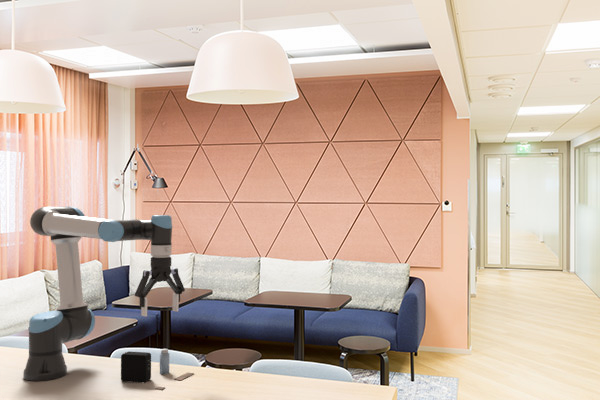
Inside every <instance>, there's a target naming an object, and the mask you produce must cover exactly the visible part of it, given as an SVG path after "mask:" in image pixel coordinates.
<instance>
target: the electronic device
mask: <svg viewBox="0 0 600 400" xmlns="http://www.w3.org/2000/svg"><path fill="white" fill-rule="evenodd" d="M151 378H152V354H151V353H150V352H144V351H143V352H142V351H126V352H124V353H122V354H121V356H120V380H121V382H124V383H125V382H126V383H127V382H128V383H138V384H139V383H140V384H141V383H142V384H145V383H146V382H148V381H149V380H151Z"/></svg>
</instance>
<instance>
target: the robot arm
mask: <svg viewBox="0 0 600 400" xmlns="http://www.w3.org/2000/svg"><path fill="white" fill-rule="evenodd" d="M29 223H30V227H31V229H32V231H33V232H34V233H35V234H37V235H40V236H44V237H50V241H51V243H53V244H54V245H55V246H54V247H55V255H56V257H55V258H56V267H57V278H58V279H57V282H58V292H59V302H60V304H59V305H58V306H57V308H56V310H50V311H49V310H48V311H43V312H40V313H37V314H34V315H32V317H30V319H29V325H28V358H27V362H26V365H25V368H24V369H23V374H22V375H23V380H26V381H29V382H31V381H32V382H41V381H42V382H43V381H44V382H45V381H50V380H56V379H59V378H62V377H64V376H66V375H67V374H68V366H67V365H66V360H65V358H64V354H63V344H66V343H69V342H73V341H76V340H77V341H78V340H81V339H83V338H86V337H87V336H90V335H91V333H92V332H93V331H94V328H95V325H96V317H95V313H93V311H92V309H89V307H88V306H89V305H88V303H86V302H85V301H84V296H83V286H82V285H83V284H82V273H81V261H80V260H81V259H80V252H79V251H80V249H79V242H80V241H81V239H82V238H90V239H95V240H96V239H97V240H102V241H104V242H109V243H115V242H124V241H139V240H141V241H145V240H146V241H150V256H151V257H150V270H145V269H144V270H143V272H142V277H141V279H140V281H139V284H138V286H137V289H136V291H135V293H134V296H135V297H137V298H139V308H140V311H141V312H140V313H141V314H140V316H142V317H148V298H147V296H148V294H149V293H150V292H151V290H152V288H154V285H155V284H157V282H158V283H161V282H166V283H167V285H168V286H169V287H170V289H171V290H172V291H173V293H172V311H173V312H179V303H180V301H181V295H182V294H183V293H184V292H185V291H186V289H185V287H184V284H183V282H182V280H181V277H180V274H179V269H178V268H176V267H172V257H171V256H172V249H173V248H172V247H173V246H172V234H173V220H172V216H171V215H167V214H154V215H151V218H150V219H149V220H147V219H138V218H135V219H125V220H123V219H121V220H120V219H117V220H116V219H107V218H98V217H89V216H86V215H85V214H84V212H83V211H81V209H79V208H78V207H74V206H42V207H40V208H37V209H35V211H34V212H32V214H31V216H30V219H29ZM170 275H171V276H172V277H171V276H170Z"/></svg>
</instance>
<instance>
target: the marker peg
mask: <svg viewBox="0 0 600 400" xmlns="http://www.w3.org/2000/svg"><path fill="white" fill-rule="evenodd" d="M159 374H160V375H167V374H170V352H169V349H168V348H161V350H160V353H159Z"/></svg>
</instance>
